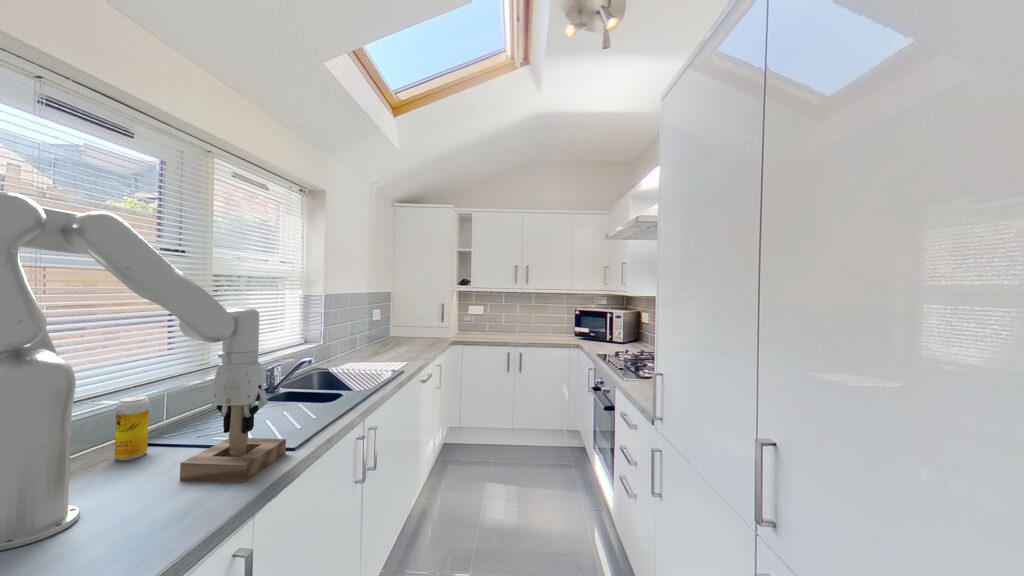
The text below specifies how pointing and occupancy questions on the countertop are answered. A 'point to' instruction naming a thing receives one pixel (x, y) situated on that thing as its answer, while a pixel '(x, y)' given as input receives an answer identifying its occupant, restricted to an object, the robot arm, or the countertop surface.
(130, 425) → the beer can
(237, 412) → the tan flared peg
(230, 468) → the keyed socket block
